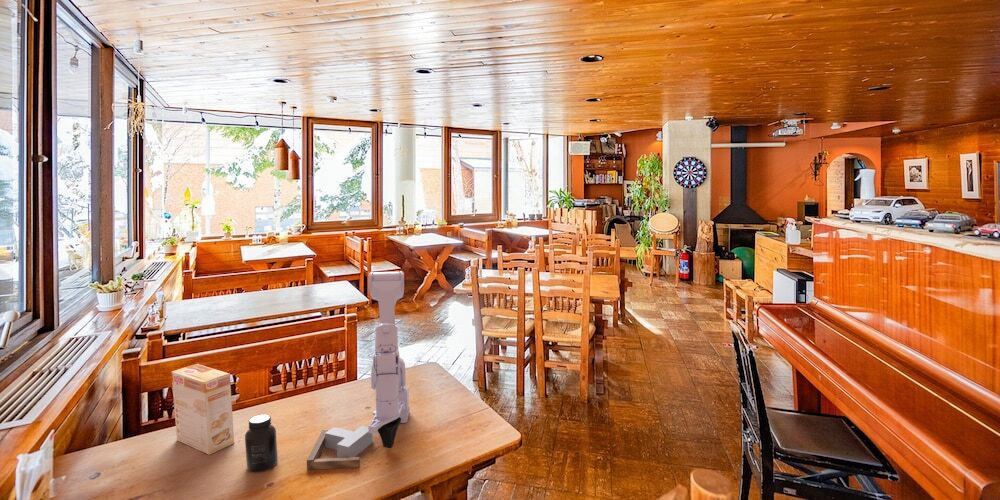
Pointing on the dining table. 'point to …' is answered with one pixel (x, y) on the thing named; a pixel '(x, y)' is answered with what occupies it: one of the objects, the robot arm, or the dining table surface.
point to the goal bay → (328, 463)
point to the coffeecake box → (203, 408)
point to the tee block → (348, 441)
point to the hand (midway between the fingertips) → (388, 446)
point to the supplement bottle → (261, 444)
